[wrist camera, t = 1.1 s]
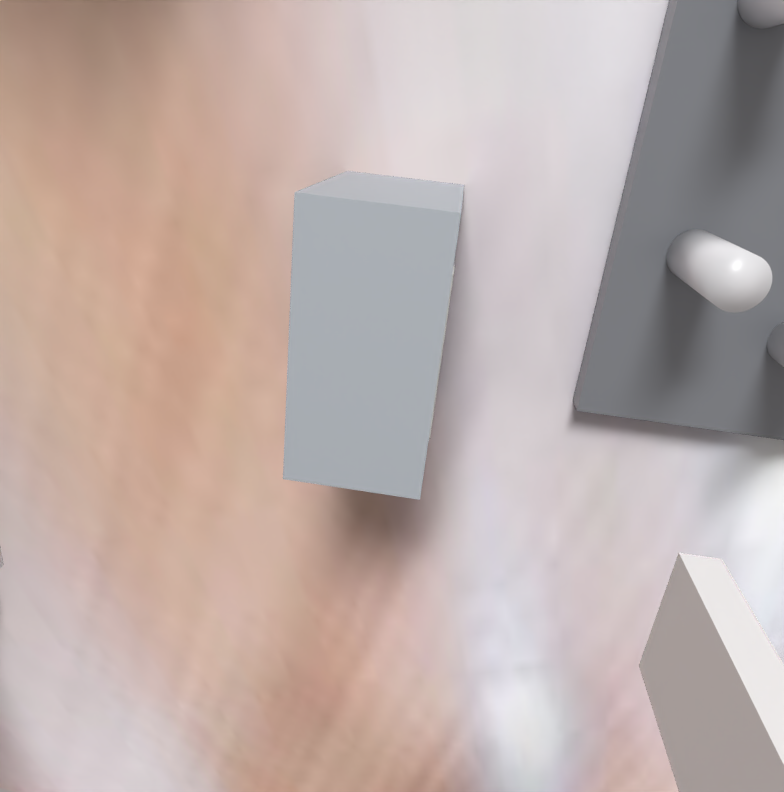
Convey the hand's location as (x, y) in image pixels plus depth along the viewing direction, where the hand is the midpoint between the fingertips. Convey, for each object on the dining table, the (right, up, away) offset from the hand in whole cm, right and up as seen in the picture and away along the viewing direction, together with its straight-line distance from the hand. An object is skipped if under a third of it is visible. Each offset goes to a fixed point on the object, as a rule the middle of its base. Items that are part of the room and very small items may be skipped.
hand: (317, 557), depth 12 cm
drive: (+1, +8, +17) cm, 19 cm away
